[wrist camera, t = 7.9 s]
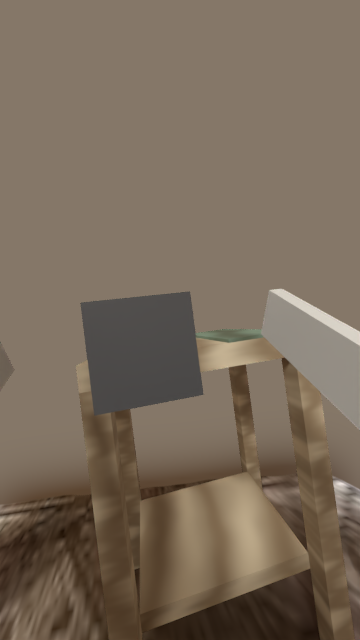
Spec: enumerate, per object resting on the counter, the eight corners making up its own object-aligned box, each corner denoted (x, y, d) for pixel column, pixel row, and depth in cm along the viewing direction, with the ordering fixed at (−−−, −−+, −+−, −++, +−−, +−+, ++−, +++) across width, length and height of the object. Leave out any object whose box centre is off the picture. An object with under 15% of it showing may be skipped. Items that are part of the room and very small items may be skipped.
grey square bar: (94, 415, 6) (80, 302, 6) (132, 344, 31) (129, 323, 31) (203, 394, 6) (189, 291, 6) (153, 341, 32) (150, 321, 32)
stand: (126, 786, 15) (75, 361, 16) (133, 554, 31) (107, 345, 32) (358, 669, 19) (311, 326, 20) (260, 514, 35) (235, 327, 35)
